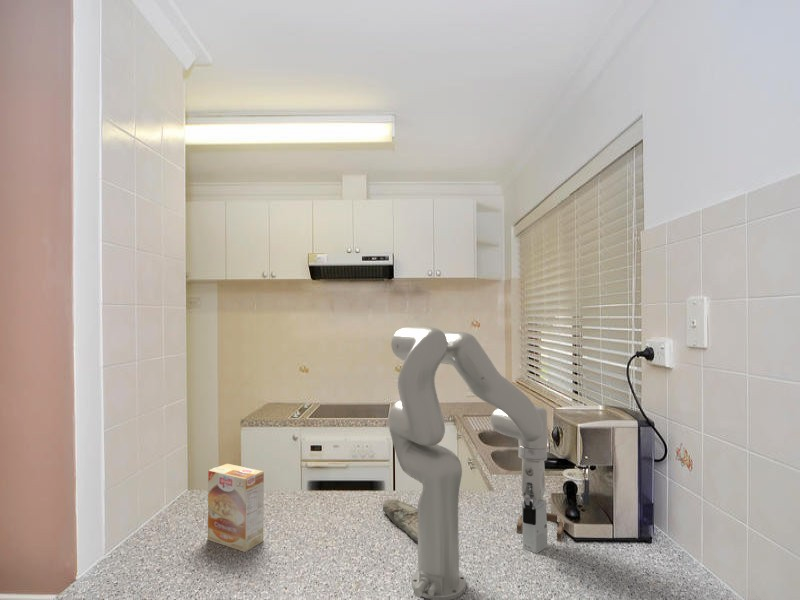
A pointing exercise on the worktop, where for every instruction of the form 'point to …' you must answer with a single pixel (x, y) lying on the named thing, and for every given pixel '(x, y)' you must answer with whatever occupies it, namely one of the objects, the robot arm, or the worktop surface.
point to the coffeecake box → (235, 506)
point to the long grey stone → (403, 516)
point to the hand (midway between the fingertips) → (532, 516)
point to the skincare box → (536, 529)
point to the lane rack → (550, 517)
